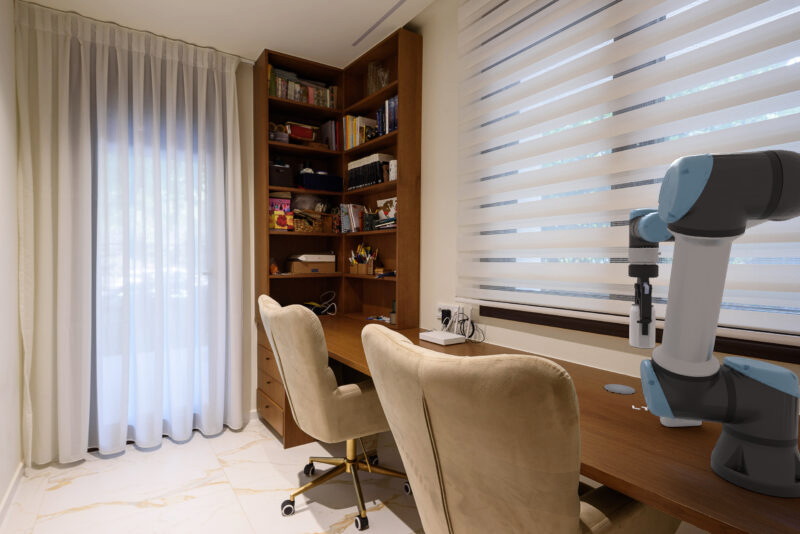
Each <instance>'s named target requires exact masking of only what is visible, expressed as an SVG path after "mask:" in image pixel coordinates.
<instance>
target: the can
mask: <svg viewBox="0 0 800 534" xmlns="http://www.w3.org/2000/svg"><path fill="white" fill-rule="evenodd" d="M656 313H657V311H656V309H655V305H654V304H652V322H650V347H642V346H638V336H639V323H637V321H639V320H640V313H639V305H638V304H635V303H631V307H630V308H629V330H628V331H629V333H628V334H629V335H628V336H629V337H628V338H629V339H628V343H629V346H630V347H633V348H636V349H641V350H643V349H644V350H645V349H646V350H650V349H655V348H656V318H657V317H656Z"/></svg>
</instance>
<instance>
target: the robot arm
mask: <svg viewBox="0 0 800 534" xmlns="http://www.w3.org/2000/svg"><path fill="white" fill-rule="evenodd" d="M657 202H658V206H657V207H658V208H637V209H636V208H635V209H632V210H631V211H630V212H629V220H628V222H627V223H628V251H627V252H628V256H627V257H628V258H627V259H628V262H629V263H630V264H628V266H627V268H628V269H627V271H628V272H627V274H628V275H627V276H628V277H629V278H635V279H636V282H635V283H634V285H633V287H634V304H638V305H639V313H640V320H639V321H637V323H639V336H638V346H642V347H650V322H652V305H653V304H652V302H653V301H652V299H653V297H652V295H653V284H651V283H650V279H655V278H658V277H659V274H660V273H659V271H660V270H659V267H660V266H659V265H658V264H657V263H659V258H660V256H661V255H662V252H661V251H659V250H660V249H659V248H660V243H674V246H673V252H672V253H673V255H672V260H671V261H672V262H671V268H670V269H671V270H670V276H669V277H670V278H669V283H668V284H669V285H668V293H667V301H666V309H665V316H664V323H663V333H662V338H661V339H662V340H661V344H660V345H659V346H658V345H657V346H655V347H654V348H653V350H652V353H651V358H650V359H648V358H646V359H642V360H641V362H640V366H639V370H640V371H639V372H640V381H641V387H642V388H641V389H642V394H643V397H644V401H645V404H646V407H648V408H647V410H648V411H650V413H651V414H652V415H654V416H656V417H659V418H660V417H667V418H671V419H685V420H696V421H702V422H706V423H717V424H718V423H719V424H722V426H721V433H720V435H719V437H718V439H717V441H716V443H715V445H714V447H713V450H712V452H711V455H710V456H711V457H710V468H711V469H712V470H713V472H714V473H715V474H716V475H717V476H719V477H721V478H722V479H724V480H726V482H727V481H728V482H729V483H731V484H734V485H735V486H737V487H740V488H744V489H746V490H749V491H752V492H755V493H759V494H764V495H767V496H774V497H779V498H780V497H781V498H800V450H799V445H798V443H799V419H800V383H799V382H800V380H799V378H798V375H797V374H796V373H795V372H793V371H792V370H791V369H788V368H786V367H783V366H779V365H777V364H773V363H769V362H766V361H762V360H758V359H754V358H748V357H743V356H742V357H741V356H733V355H732V356H725V357H724V359H723V360H722V364H720V361H719V360H718V358H717V357H715V356H714V355H713V352H714V347H715V343H716V342H715V341H716V336H717V330H718V325H719V324H718V323H719V319H720V313H721V307H722V301H723V296H724V290H725V285H726V279H727V273H728V268H729V261H730V255H731V252H732V245H733V242H735V240H737V239H740V237H742V236H744V235H745V233H746V230H748V229H751V228H753V227H756V226H759V225H762V224H764V223H766V222H769V221H770V222H785V221H789V220H792V219H795V218H798V217H800V152H796V151H793V150H787V149H786V150H785V149H768V150H756V151H734V152H732V151H731V152H714V153H713V152H712V153H706V152H705V153H704V152H703V153H702V154H694V155H685V156H681V157H679V158H677V159H675V160H674V161H673V162H672V163H671V164H670V165H669V167H668V169H667V170H666V172H665V173H664V177H663V179H662V182H661V186H660V189H659V194H658V201H657Z"/></svg>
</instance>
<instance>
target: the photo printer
mask: <svg viewBox="0 0 800 534" xmlns="http://www.w3.org/2000/svg"><path fill="white" fill-rule="evenodd" d="M659 420H660V421H659V422H660V423H661V425H663V426H665V427H672V428H673V427H675V428H677V427H696V426H701V425H702V424H703V423H702V422H703V421H696V420H685V419H671V418H667V417H660V416H659Z"/></svg>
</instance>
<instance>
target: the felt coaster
mask: <svg viewBox="0 0 800 534" xmlns="http://www.w3.org/2000/svg"><path fill="white" fill-rule="evenodd" d="M603 387H604V388H605V389H606V390H605V389H604V388H603V389H604V390H605V391H607V390H608V391H607V392H609V391H611V392H610V393H612V392H615V393H614V394H616V393H621V394H620V395H626V394H627V395H633V394H632V393H634V394H635V393H636V389H635V388H633V387H631V386H629V385H624V384H615V383H610V384H605V385H604V386H603Z"/></svg>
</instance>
